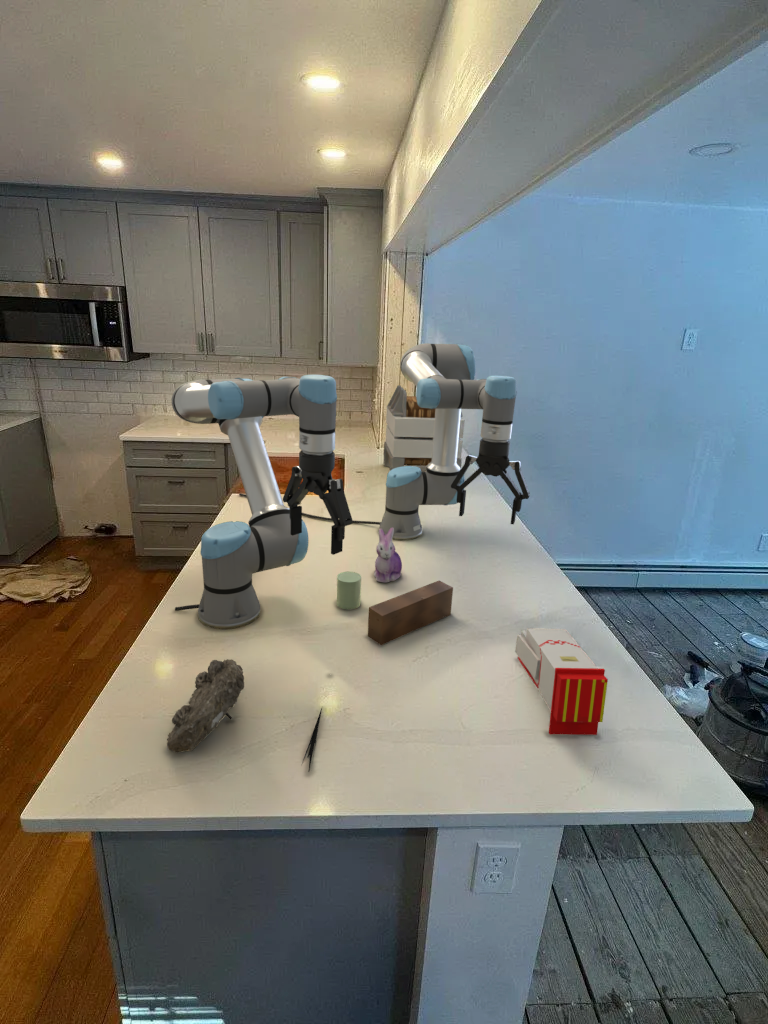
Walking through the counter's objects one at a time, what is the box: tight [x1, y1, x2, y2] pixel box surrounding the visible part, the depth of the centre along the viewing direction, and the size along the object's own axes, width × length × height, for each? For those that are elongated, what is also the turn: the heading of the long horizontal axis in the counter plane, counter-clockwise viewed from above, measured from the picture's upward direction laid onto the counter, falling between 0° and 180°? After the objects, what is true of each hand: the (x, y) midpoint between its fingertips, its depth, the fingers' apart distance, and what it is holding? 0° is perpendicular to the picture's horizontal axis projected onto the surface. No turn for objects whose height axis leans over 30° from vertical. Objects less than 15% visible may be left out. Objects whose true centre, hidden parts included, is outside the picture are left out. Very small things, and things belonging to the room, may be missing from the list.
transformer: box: [383, 384, 465, 471], centre depth 268 cm, size 34×33×41 cm
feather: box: [301, 673, 332, 771], centre depth 108 cm, size 2×28×2 cm
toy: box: [514, 627, 609, 736], centre depth 119 cm, size 12×13×30 cm
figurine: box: [373, 528, 403, 583], centre depth 165 cm, size 9×10×15 cm
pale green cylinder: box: [336, 571, 362, 611], centre depth 150 cm, size 6×6×8 cm
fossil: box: [166, 658, 245, 754], centre depth 106 cm, size 22×10×15 cm
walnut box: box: [367, 580, 454, 646], centre depth 141 cm, size 24×5×8 cm, turn 131°
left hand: (315, 543), depth 127 cm, fingers open, 13 cm apart
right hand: (486, 518), depth 150 cm, fingers open, 13 cm apart
